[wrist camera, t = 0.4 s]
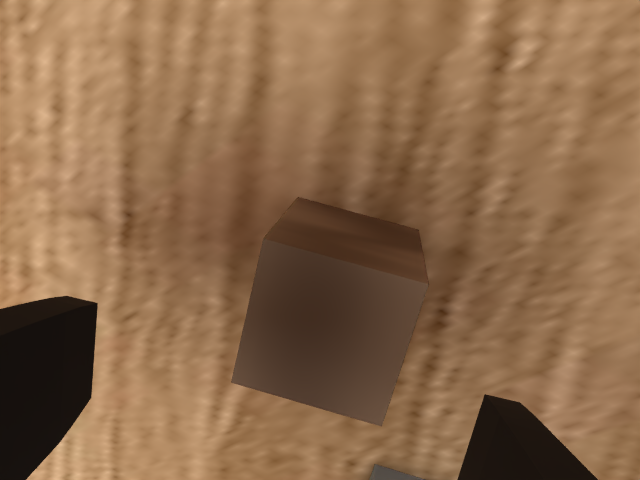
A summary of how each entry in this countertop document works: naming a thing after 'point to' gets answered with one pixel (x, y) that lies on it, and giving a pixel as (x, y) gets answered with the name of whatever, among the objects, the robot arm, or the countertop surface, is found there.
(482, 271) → the countertop surface
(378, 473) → the base block
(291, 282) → the walnut block
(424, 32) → the countertop surface
